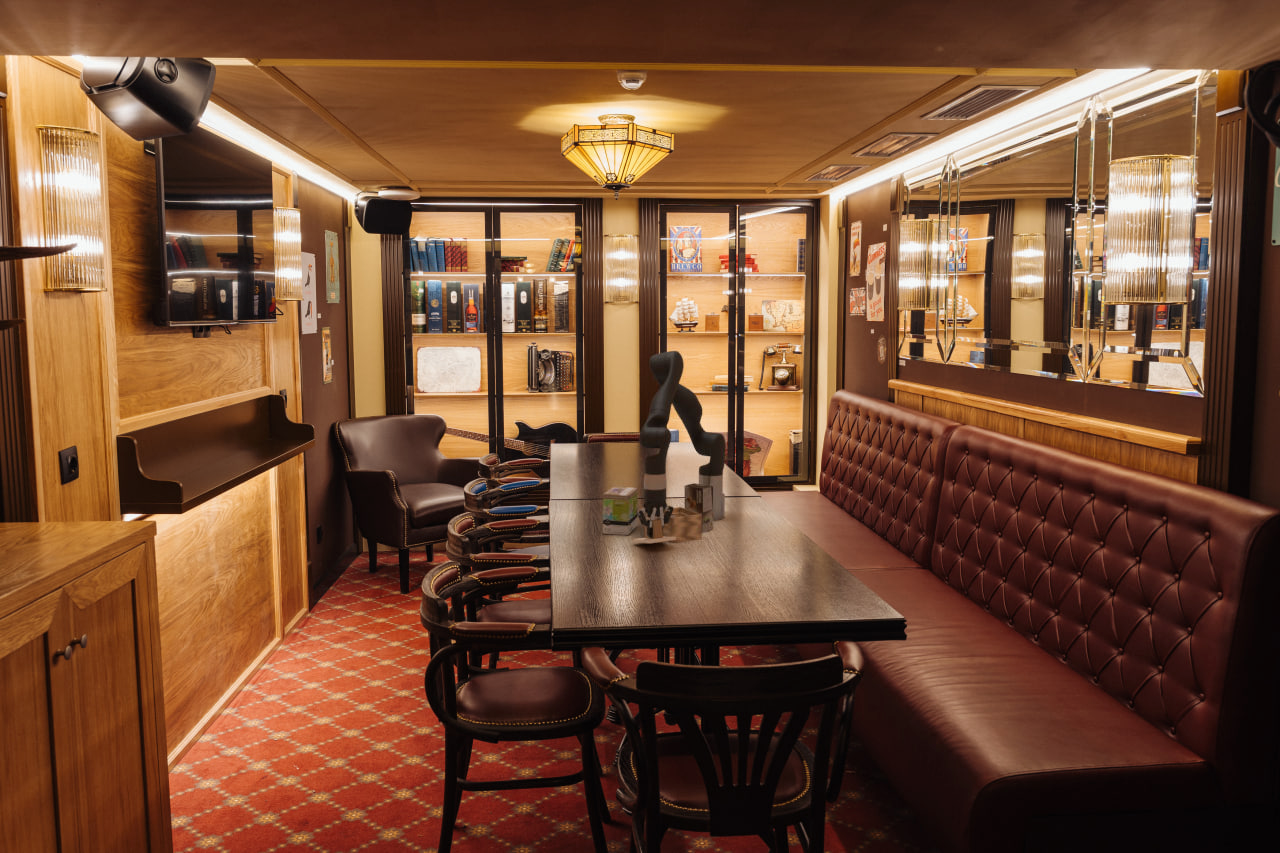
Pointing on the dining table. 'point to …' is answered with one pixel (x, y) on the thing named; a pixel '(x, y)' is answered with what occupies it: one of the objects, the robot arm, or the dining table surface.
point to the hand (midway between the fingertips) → (655, 536)
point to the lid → (655, 534)
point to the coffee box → (700, 503)
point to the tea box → (620, 510)
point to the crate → (683, 525)
